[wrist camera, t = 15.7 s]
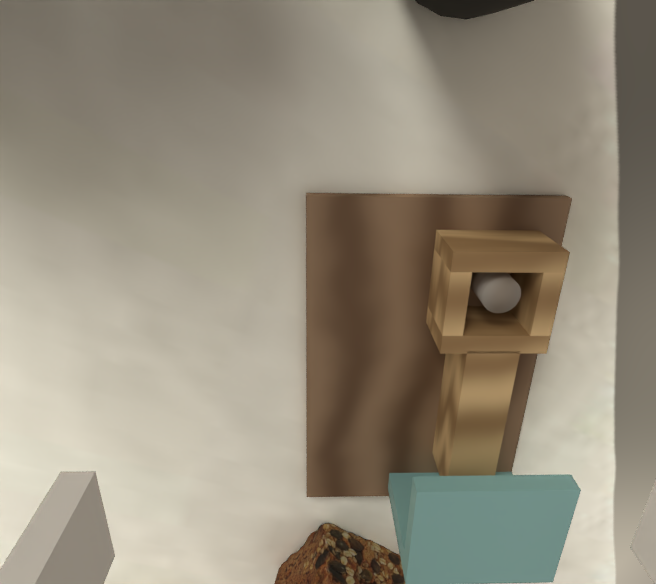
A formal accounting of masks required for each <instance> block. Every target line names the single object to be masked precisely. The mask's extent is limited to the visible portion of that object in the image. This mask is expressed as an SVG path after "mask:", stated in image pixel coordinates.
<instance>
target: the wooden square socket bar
mask: <svg viewBox="0 0 656 584" xmlns="http://www.w3.org/2000/svg"><path fill="white" fill-rule="evenodd" d="M569 254H570V252H569V251H567V250H566V249H564V248H563V247H562V246H560V245H559V244H557V243H556V242H554V241H553V240H552V239H550V238H549V237H547V236H546V235H545V234H543V233H542V232H540V231H539V230H436V237H435V246H434V255H433V264H432V273H431V282H430V291H429V300H428V309H427V318H426V323H427V325H428V328H429V330H430V332H431V334H432V336H433V339H434V341H435V343H436V345H437V347H438V350H439V352H440V354H445V362H444V369H443V377H442V384H441V392H440V399H439V407H438V414H437V422H436V429H435V437H434V444H433V452H432V453H433V456H434V459H435V463H436V466H437V469H438V472H439V475H440V476H486V475H495V473H496V468H497V463H498V458H499V453H500V449H501V444H502V439H503V434H504V429H505V424H506V419H507V415H508V410H509V405H510V400H511V395H512V390H513V385H514V380H515V376H516V371H517V366H518V361H519V356H520V354H524V353H547V349H548V344H549V340H550V336H551V332H552V327H553V323H554V319H555V314H556V310H557V306H558V301H559V297H560V293H561V288H562V284H563V280H564V275H565V271H566V267H567V262H568V258H569ZM472 272H506V273H512V276H511V277H512V278H513V279H514V280H515V281H516V282H517V283H518V284H519V286H520V289H521V297H520V300H519V302H518V303H517V305H516V306H515V307H514V308H512V309H511V310H509V311H507V312H504V313H493V312H490V311H489V310H487V309H486V308H485V307H484V306H467V305H468V298H469V291H470V285H471V278H472Z"/></svg>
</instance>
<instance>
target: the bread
mask: <svg viewBox="0 0 656 584" xmlns="http://www.w3.org/2000/svg"><path fill="white" fill-rule="evenodd" d="M275 584H405V579H404V574H403V568H402V563H401V557H400V555H398V554H395V553H393V552H391V551H390V550H388V549H386V548H385V547H383V546H381V545H378V544H376V543H374V542H373V541H371V540H366V539H363V538H362V537H360V536H358V537H357V536H356V535H354V534H353V533H347V532H346V531H344V530H342V529H340V528H338V527H337V526H336V525H334V524H330V523H327V524H323V525H321V526H320V527H319V529H318V530H317V531H315V532H313V533H311V535H310V536H309V537H308V539H307V541H306V543H305V545H304V546H302V547H301V549H300V550H299V551H298V552H296V553H294V554H292V555H291V556H290V557H289V558H288V559H287V561H286V562H284V563H283V564H282V565H281V567H280V568H279V571H278V574H277V578H276V581H275Z"/></svg>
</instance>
